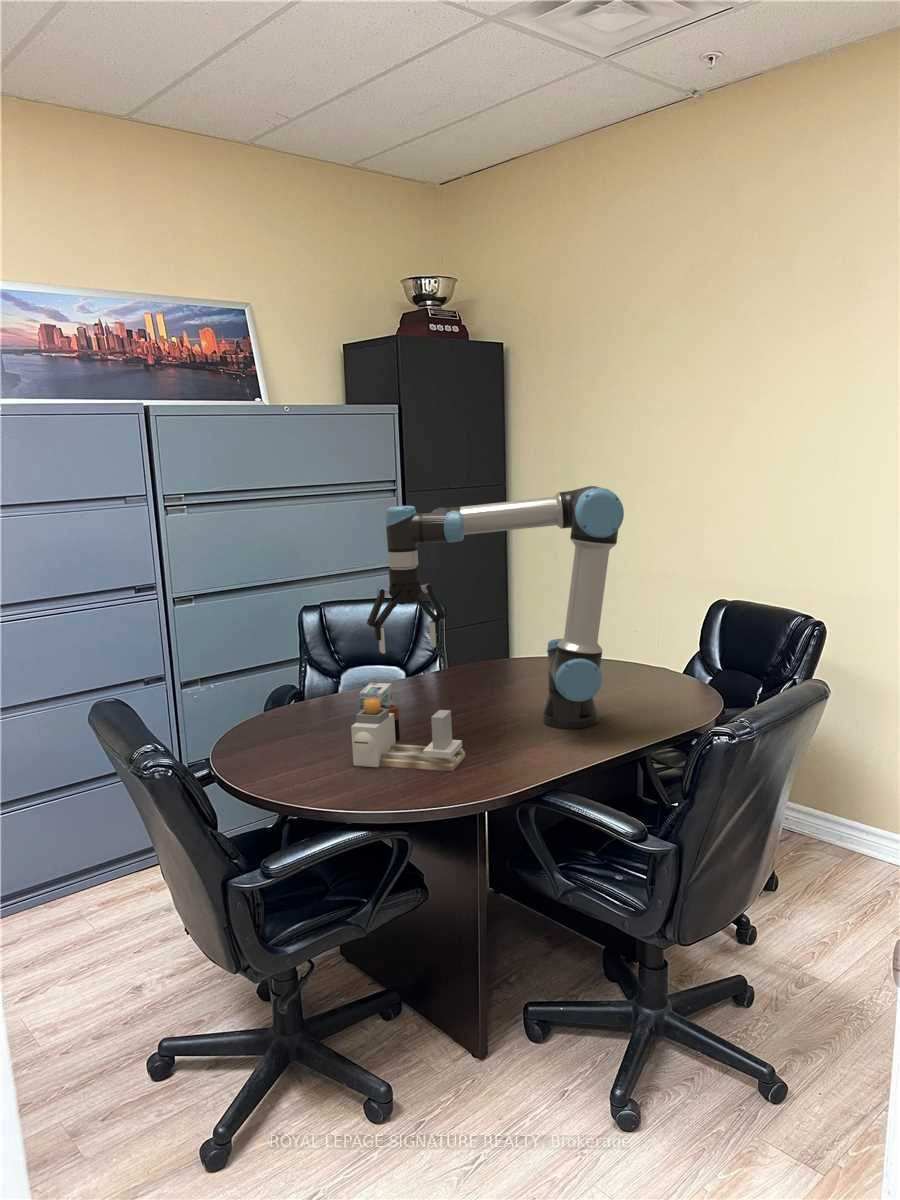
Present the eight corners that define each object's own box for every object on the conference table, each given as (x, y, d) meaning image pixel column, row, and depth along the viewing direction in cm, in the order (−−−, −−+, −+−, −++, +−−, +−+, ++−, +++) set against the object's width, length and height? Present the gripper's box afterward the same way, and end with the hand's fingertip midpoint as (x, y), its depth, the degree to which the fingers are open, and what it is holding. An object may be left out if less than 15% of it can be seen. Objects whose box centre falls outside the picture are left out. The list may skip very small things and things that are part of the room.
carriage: (462, 746, 226) (460, 709, 224) (450, 758, 217) (449, 720, 216) (435, 744, 228) (433, 707, 226) (423, 756, 219) (421, 718, 218)
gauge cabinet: (396, 751, 233) (393, 705, 231) (377, 768, 221) (374, 720, 219) (372, 749, 235) (369, 704, 233) (352, 766, 223) (349, 719, 221)
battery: (387, 743, 240) (385, 706, 238) (372, 737, 245) (370, 701, 243) (400, 739, 242) (398, 703, 241) (386, 733, 248) (384, 698, 246)
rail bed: (465, 757, 226) (464, 746, 226) (452, 771, 217) (452, 760, 217) (395, 752, 232) (395, 742, 232) (380, 766, 223) (380, 755, 222)
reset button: (383, 710, 228) (382, 698, 227) (376, 714, 224) (376, 702, 224) (368, 709, 229) (367, 697, 229) (361, 713, 225) (361, 702, 225)
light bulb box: (384, 731, 250) (382, 692, 248) (360, 730, 252) (358, 692, 250) (394, 719, 261) (392, 682, 259) (371, 718, 262) (369, 682, 260)
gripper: (445, 561, 239) (448, 640, 243) (352, 570, 231) (357, 652, 234) (454, 564, 232) (458, 646, 236) (359, 573, 224) (364, 658, 227)
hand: (408, 649), depth 235 cm, fingers open, 13 cm apart
